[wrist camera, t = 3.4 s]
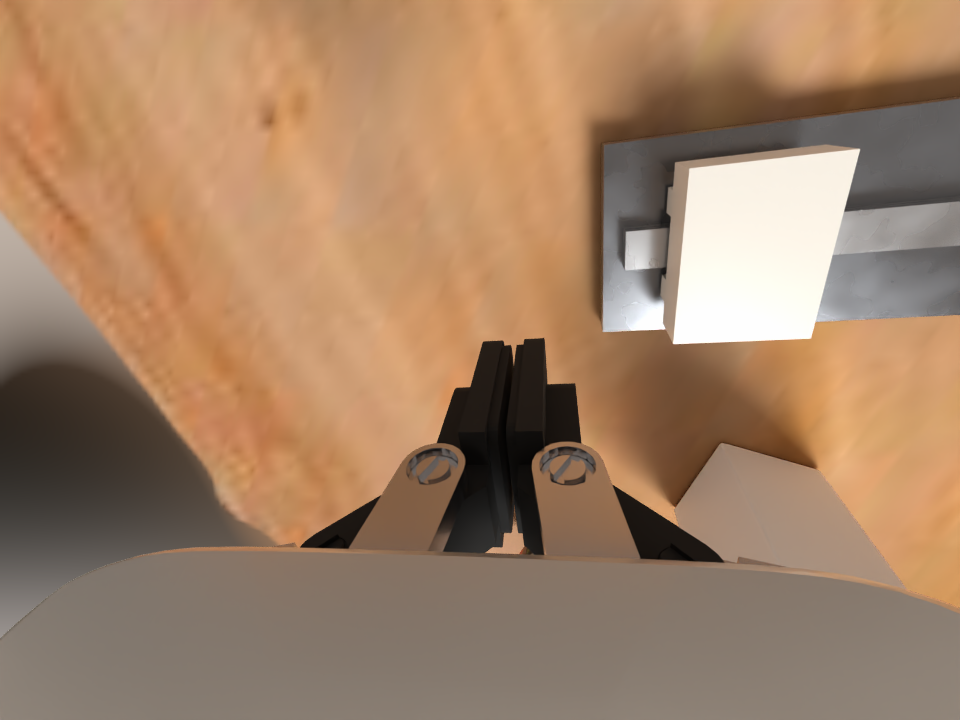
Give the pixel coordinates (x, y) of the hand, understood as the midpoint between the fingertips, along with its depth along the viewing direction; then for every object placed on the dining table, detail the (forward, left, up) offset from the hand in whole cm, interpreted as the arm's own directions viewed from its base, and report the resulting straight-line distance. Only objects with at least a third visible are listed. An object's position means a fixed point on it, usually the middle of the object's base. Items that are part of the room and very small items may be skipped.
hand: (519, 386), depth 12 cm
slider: (-9, 0, -13) cm, 17 cm away
